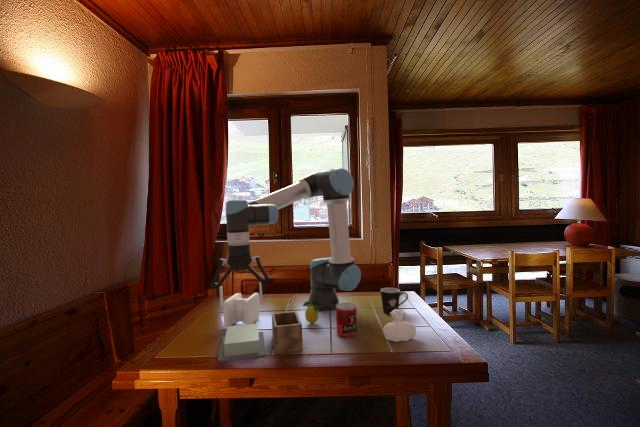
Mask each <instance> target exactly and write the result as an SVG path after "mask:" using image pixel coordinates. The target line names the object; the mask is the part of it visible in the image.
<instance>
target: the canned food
mask: <svg viewBox="0 0 640 427" xmlns="http://www.w3.org/2000/svg"><path fill="white" fill-rule="evenodd" d="M335 310H336V311H335V312H336V313H335V314H336V315H335V316H336V319H335V320H336V333H337V336H339V337H340V338H342V339H343V338H344V339H350V338H351V339H352V338H354V337H356V336H357V333H358V329H357V328H358V325H357V324H358V321H357V320H358V317H357V316H358V315H357V312H358V311H357V305H356V304H355V303H353V302H339V304H337V305H336V308H335Z"/></svg>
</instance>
